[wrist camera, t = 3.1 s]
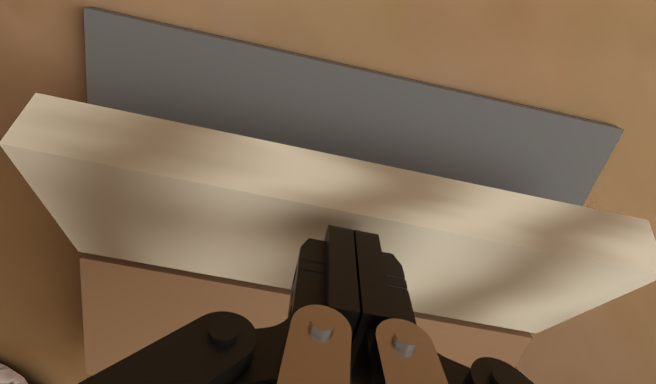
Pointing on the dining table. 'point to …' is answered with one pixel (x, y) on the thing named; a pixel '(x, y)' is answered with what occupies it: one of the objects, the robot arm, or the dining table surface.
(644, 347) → the dining table surface
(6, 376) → the cookie jar
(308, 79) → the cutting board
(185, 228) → the plank
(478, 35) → the dining table surface
